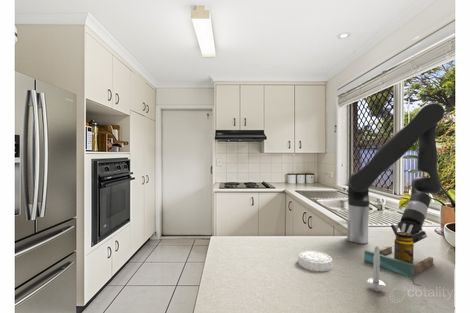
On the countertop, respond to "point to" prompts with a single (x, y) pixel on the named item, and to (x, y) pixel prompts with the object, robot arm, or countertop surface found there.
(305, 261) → the mooncake
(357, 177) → the robot arm
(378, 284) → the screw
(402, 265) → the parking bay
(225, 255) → the countertop surface
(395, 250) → the condiment
